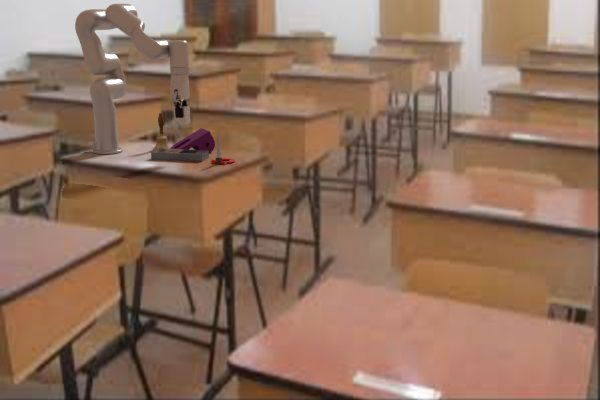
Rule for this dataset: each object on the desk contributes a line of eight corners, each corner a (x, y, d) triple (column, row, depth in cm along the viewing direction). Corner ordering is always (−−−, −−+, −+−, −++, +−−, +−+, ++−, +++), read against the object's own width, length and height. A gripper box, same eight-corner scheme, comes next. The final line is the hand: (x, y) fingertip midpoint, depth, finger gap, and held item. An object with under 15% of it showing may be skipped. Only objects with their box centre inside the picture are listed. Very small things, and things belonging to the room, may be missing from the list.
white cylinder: (174, 124, 304) (173, 107, 302) (179, 122, 309) (178, 105, 307) (185, 124, 303) (184, 107, 301) (190, 122, 308) (189, 105, 306)
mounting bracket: (183, 169, 320) (217, 147, 326) (174, 152, 316) (209, 131, 322) (175, 165, 328) (209, 144, 334) (166, 148, 324) (201, 128, 330)
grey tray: (151, 159, 310) (150, 152, 309) (159, 155, 318) (159, 148, 317) (202, 161, 305) (201, 154, 305) (209, 157, 314) (208, 150, 313)
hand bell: (149, 150, 329) (147, 114, 325) (158, 147, 337) (156, 111, 333) (166, 151, 327) (165, 115, 323) (175, 148, 334) (173, 112, 330)
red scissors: (222, 160, 311) (209, 163, 303) (222, 129, 308) (209, 131, 300) (239, 162, 307) (226, 165, 299) (239, 131, 304) (226, 133, 296)
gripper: (179, 69, 310) (181, 113, 314) (162, 73, 294) (165, 119, 298) (196, 70, 308) (198, 114, 313) (180, 73, 292) (182, 119, 296)
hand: (182, 116), depth 305 cm, fingers closed on white cylinder, 5 cm apart
